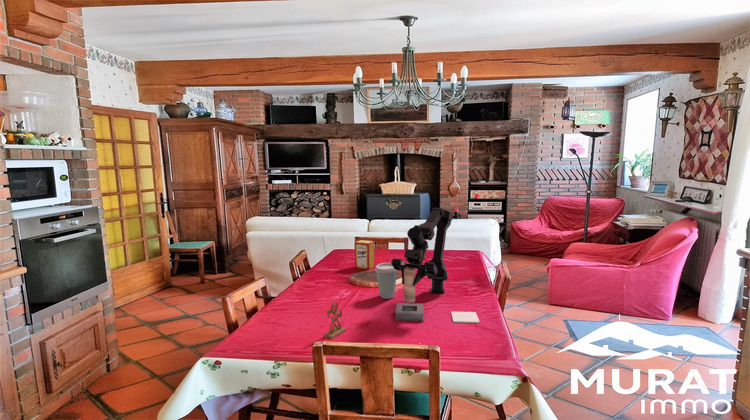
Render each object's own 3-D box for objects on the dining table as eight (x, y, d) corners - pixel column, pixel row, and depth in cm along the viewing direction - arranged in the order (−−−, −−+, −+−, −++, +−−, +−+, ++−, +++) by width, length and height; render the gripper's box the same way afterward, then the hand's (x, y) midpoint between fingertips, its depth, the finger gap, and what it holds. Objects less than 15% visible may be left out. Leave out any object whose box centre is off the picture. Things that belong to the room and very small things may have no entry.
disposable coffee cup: (396, 301, 180) (395, 268, 178) (372, 299, 182) (372, 267, 181) (399, 293, 191) (399, 262, 189) (377, 292, 193) (376, 261, 191)
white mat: (451, 312, 166) (451, 311, 166) (475, 313, 165) (475, 312, 165) (453, 322, 156) (453, 321, 156) (479, 323, 155) (479, 321, 155)
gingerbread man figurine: (338, 328, 152) (337, 297, 151) (346, 330, 150) (346, 299, 149) (323, 336, 145) (322, 304, 143) (331, 339, 143) (330, 307, 141)
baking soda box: (355, 268, 236) (354, 241, 234) (361, 265, 242) (360, 239, 240) (368, 270, 231) (368, 242, 229) (374, 267, 237) (374, 240, 235)
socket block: (396, 310, 170) (396, 303, 169) (422, 310, 169) (422, 303, 168) (395, 320, 159) (395, 313, 158) (423, 321, 158) (423, 313, 157)
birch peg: (404, 298, 165) (404, 267, 164) (415, 298, 165) (414, 268, 163) (404, 302, 161) (403, 270, 159) (415, 302, 161) (415, 271, 159)
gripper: (392, 239, 168) (380, 271, 160) (435, 243, 159) (424, 277, 151) (400, 253, 176) (389, 285, 167) (441, 258, 167) (432, 291, 159)
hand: (408, 284), depth 161 cm, fingers closed on birch peg, 4 cm apart
